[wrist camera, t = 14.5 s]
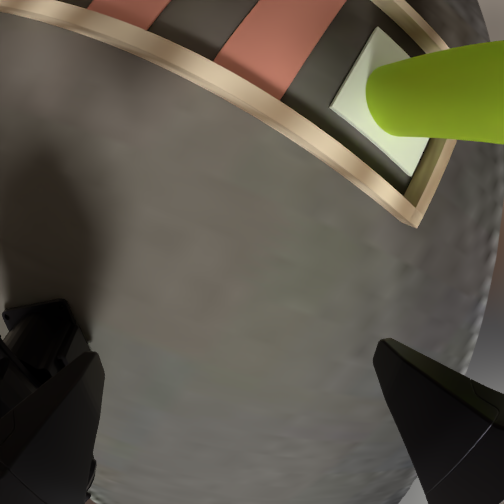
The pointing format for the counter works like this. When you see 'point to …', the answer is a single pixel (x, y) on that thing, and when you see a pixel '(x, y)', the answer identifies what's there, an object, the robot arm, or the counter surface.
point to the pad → (356, 109)
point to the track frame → (266, 95)
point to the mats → (251, 36)
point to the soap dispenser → (442, 94)
